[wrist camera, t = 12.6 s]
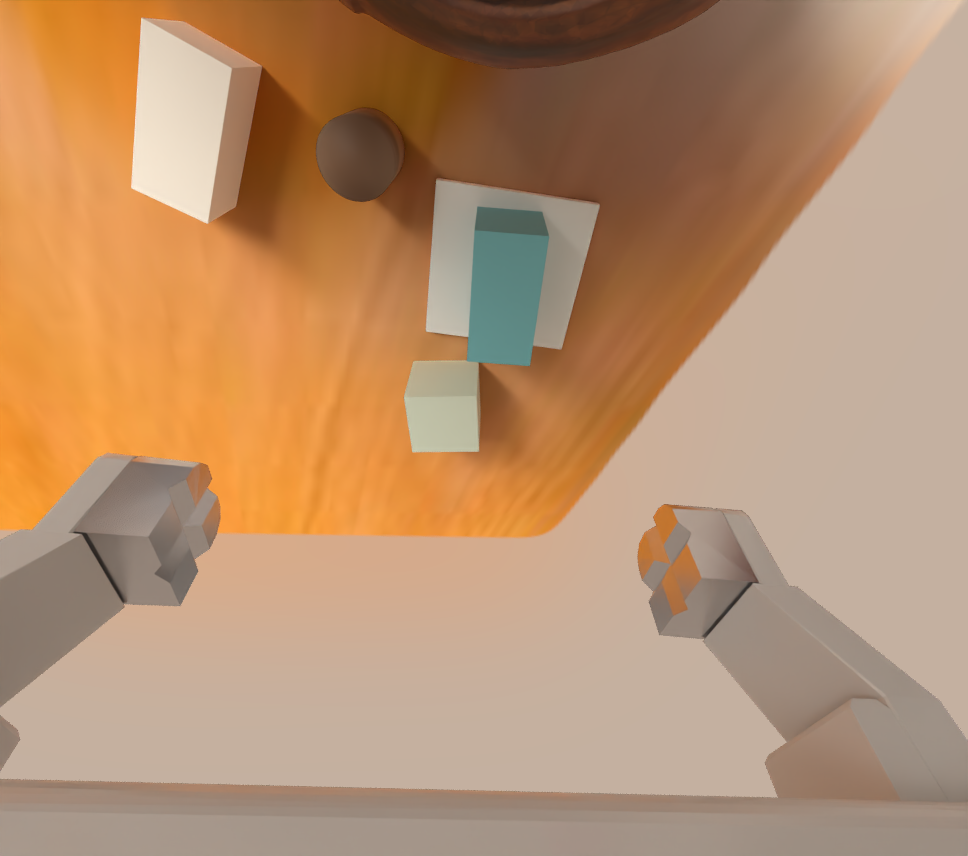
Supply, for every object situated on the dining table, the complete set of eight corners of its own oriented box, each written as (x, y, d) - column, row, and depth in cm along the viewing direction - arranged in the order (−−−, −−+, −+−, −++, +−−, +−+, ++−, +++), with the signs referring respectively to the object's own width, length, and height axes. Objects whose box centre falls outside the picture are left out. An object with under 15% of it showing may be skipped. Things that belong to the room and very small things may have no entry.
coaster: (426, 327, 35) (425, 331, 35) (437, 177, 29) (436, 179, 29) (560, 345, 36) (561, 349, 36) (598, 202, 30) (600, 205, 29)
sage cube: (413, 360, 37) (420, 412, 40) (403, 397, 33) (412, 452, 36) (478, 359, 37) (480, 412, 40) (476, 396, 33) (479, 451, 36)
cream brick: (170, 173, 30) (131, 188, 26) (185, 21, 25) (141, 17, 22) (237, 206, 31) (207, 223, 27) (263, 66, 26) (231, 68, 23)
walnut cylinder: (337, 180, 29) (318, 195, 26) (334, 102, 27) (313, 108, 24) (403, 190, 30) (392, 206, 27) (406, 113, 27) (394, 121, 24)
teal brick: (477, 206, 30) (474, 230, 26) (542, 211, 30) (549, 236, 26) (470, 325, 34) (467, 361, 31) (525, 330, 35) (529, 365, 31)
